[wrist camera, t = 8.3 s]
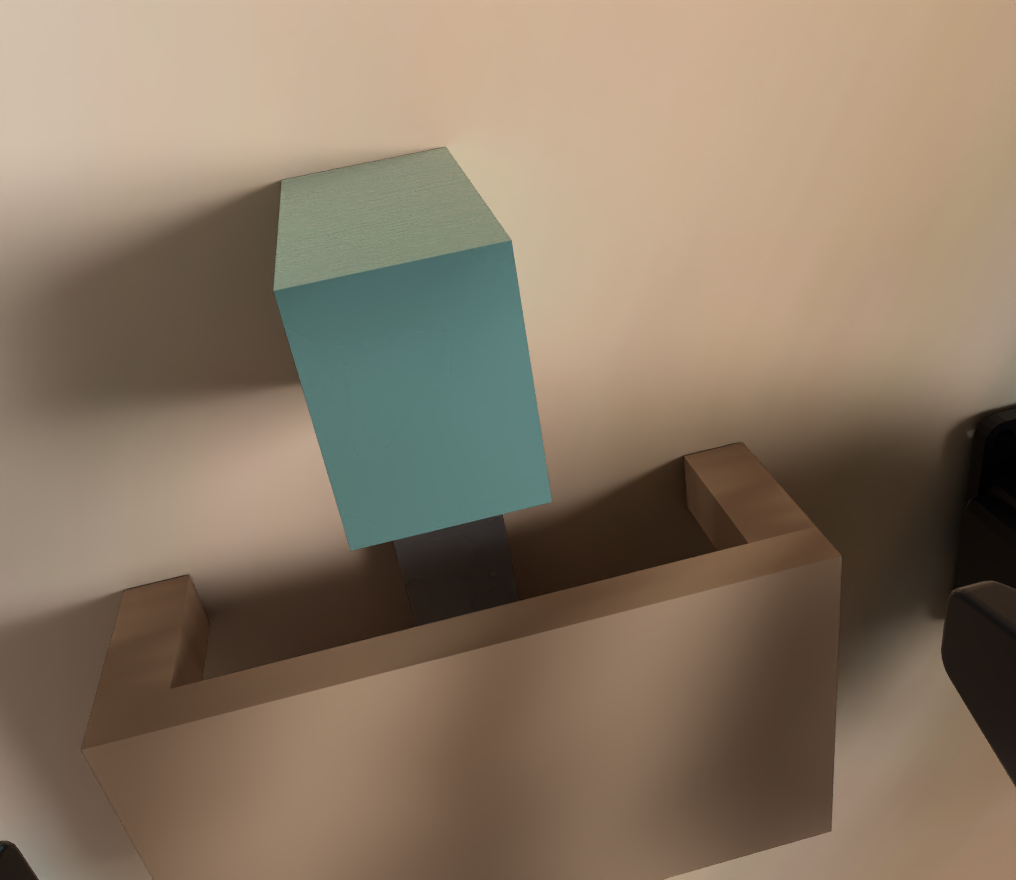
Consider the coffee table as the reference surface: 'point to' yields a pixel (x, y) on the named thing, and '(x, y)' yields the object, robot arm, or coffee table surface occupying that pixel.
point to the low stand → (499, 722)
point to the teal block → (414, 370)
